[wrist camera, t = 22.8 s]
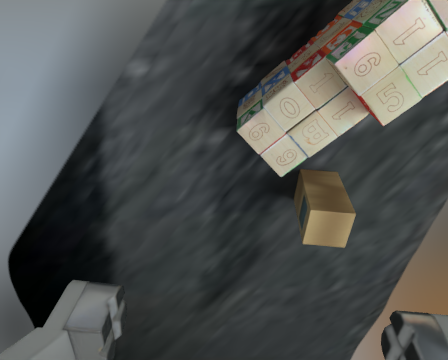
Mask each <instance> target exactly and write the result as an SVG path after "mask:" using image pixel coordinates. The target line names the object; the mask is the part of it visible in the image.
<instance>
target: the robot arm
mask: <svg viewBox="0 0 448 360" xmlns="http://www.w3.org/2000/svg"><path fill="white" fill-rule="evenodd" d="M124 294H125V292H124V287H123V286H121V285H113V284H104V283H96V282H87V281H78V280H73V281H72V282H70V283H69V284H68V286H67V287H66V289H65V291H64V292H63V294H62V296H61V298H60V299H59V301H58V303H57V304H56V306H55V308H54V309H53V311H52V313H51V315H50V316H49V318H48V320H47V321H46V323H45V325H44V326H43V328H36V329H35V330H33V331H32V332H30V333H29V334H28V335H26V336H25V337H23V338H22V339H20V340H19V341H18V342H16V343H15V344H13V345H12V346H11V347H9V348H8V349H6V350H5V351H3V352H2V353H1V354H0V360H113V357H114V354H115V351H116V344H115V340H116V339H117V338H118V337H119V336H120V335H121V334H122V332H123V329H124V326H125V321H126V316H127V306H126V302H125V301H123V300H122V299H123V296H124ZM390 321H391V323H392V324H390V325H388V326H387V327H385V328H384V330H383V333H382V337H381V346H382V352H383V355H384V357H385V360H448V315H437V314H428V313H419V312H407V311H395V312H393V313H392V315H391V316H390Z"/></svg>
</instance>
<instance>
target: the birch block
mask: <svg viewBox="0 0 448 360" xmlns="http://www.w3.org/2000/svg"><path fill="white" fill-rule="evenodd" d="M294 203H295V208H296V213H297V218H298V223H299V228H300V233H301V238H302V243H303V244H311V245H322V246H333V247H344V248H345V245H346V242H347V239H348V236H349V233H350V230H351V227H352V224H353V221H354V218H355V215H356V213H355V211H354V209H353V206H352V204H351V202H350V200H349V197H348V195H347V193H346V191H345V188H344V186H343V184H342V182H341V179H340V177H339V175H338V173H337V172H329V171H317V170H305V169H300V172H299V177H298V182H297V186H296V191H295V196H294Z"/></svg>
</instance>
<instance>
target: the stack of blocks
mask: <svg viewBox="0 0 448 360" xmlns="http://www.w3.org/2000/svg"><path fill="white" fill-rule="evenodd" d="M447 80H448V0H353V1H352V2H351V3H350V4H348V5H347V6H346V7H345V8H344V9H343V10H341V11H340V12H339V13H338V14H337V16H336V17H335V18H334V20H333V21H332V22H330V23H328V24H327V26H326V27H325V28H324V29H323V30H320V31H319V32H318V33H317V35H316V36H315V37H312V38H311V39H310V40H309V41H308V44H306V45H304V46H302V47H301V48H300V49H299V50H298V51H297V52H296V53H295V54H293V55H292V57H291V59H288V60H286V61H283V62H282V63H281V64H280V65H278V66H277V67H276V68H275V69H274V70H273V71H271V72H270V73H269V74H268V75H267V76H266V77H264V78H263V79H262V80H261V81H260V83H259V84H258V86H257V87H255V88H254V89H252V90H251V91H250V92H249V93H247V94H246V95H245V96H244V98H242V99H240V100H239V105H238V111H237V119H238V120H237V132H238V133H239V134H240V135H241V136H242V137H243V138H244V139H245V140H246V141H247V143H248V144H249V145H250V146H251V147H252V148H253V149H254V150H255V151H256V152H257V153H258V154H260V155H261V157H262V158H263V159H264V160H265V161H266V162H267V163H268V164H269V165H270V166H271V167H272V168H273V169H274V171H275V172H276V173H277V174H278V175H279V176H280V177H282V176H284V175H285V174H287V173H288V172H289V171H291V170H292V169H293V168H295V167H296V166H298V165H299V164H300V163H302V162H303V161H304V160H306V158H307V157H311V156H312V155H314V154H315V153H316V152H318V151H319V150H321V149H322V148H323V147H325V146H326V145H327V144H329V143H330V142H332V141H333V140H334V139H336V138H337V137H338V136H340V135H342V134H343V133H344V132H346V131H347V130H349V129H350V128H351V127H353V126H354V125H355V124H357V123H358V122H359V121H361V120H362V119H363V118H365V117H366V116H367V115H368V114H369V112H370V114H371V115H372V116H373V117H375V119H376V120H377V121H378V122H379V123H380V124H381V125H382V126H384V125H386V124H387V123H389V122H390V121H392V120H393V119H395V118H396V117H397V116H399V115H400V114H402V113H403V112H404V111H406V110H407V109H409V108H410V107H412V106H413V105H415V104H416V103H417V102H419V101H420V100H421V99H422V98H423V97H424V96H426V95H427V94H429V93H431V92H432V91H434V90H435V89H436V88H438V87H439V86H441V85H442V84H443V83H445V82H446V81H447Z"/></svg>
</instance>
